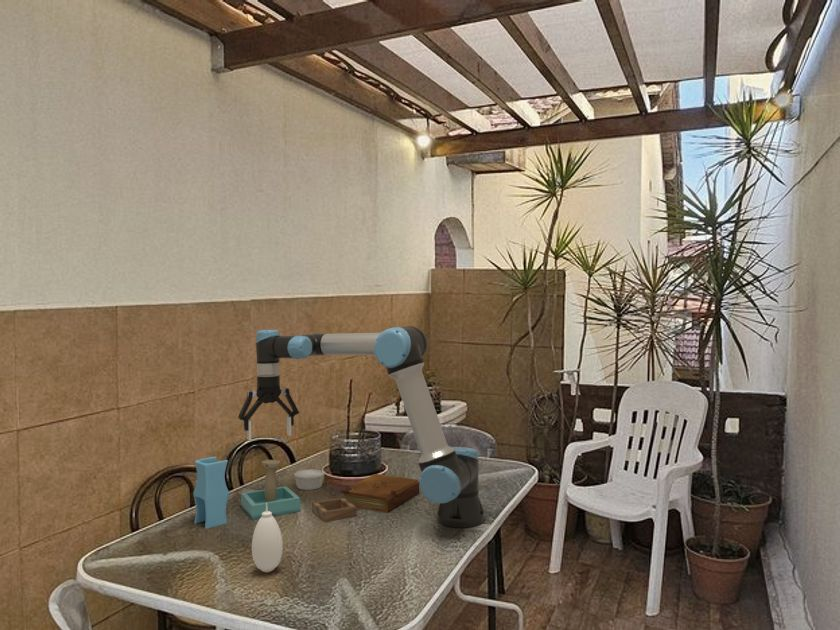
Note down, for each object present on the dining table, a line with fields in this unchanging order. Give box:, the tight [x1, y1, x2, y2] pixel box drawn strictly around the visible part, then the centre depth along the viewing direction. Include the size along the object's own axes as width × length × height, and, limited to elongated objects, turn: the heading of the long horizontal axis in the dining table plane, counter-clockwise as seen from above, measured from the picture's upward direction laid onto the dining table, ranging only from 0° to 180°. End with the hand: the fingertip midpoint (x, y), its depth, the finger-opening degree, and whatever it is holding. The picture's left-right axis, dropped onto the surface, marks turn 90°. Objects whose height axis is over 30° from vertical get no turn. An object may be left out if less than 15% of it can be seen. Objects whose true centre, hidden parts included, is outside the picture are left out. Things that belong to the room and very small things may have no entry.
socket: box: [311, 496, 358, 523], centre depth 206 cm, size 12×11×3 cm
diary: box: [340, 473, 420, 514], centre depth 221 cm, size 23×19×6 cm
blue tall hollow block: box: [192, 456, 230, 530], centre depth 199 cm, size 8×8×20 cm
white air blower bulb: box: [251, 502, 284, 573], centre depth 163 cm, size 8×8×18 cm
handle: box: [260, 459, 281, 502], centre depth 212 cm, size 5×6×15 cm
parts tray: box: [240, 485, 301, 521], centre depth 212 cm, size 16×16×4 cm
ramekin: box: [293, 469, 325, 491], centre depth 238 cm, size 11×11×5 cm
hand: (269, 437), depth 212 cm, fingers open, 13 cm apart
